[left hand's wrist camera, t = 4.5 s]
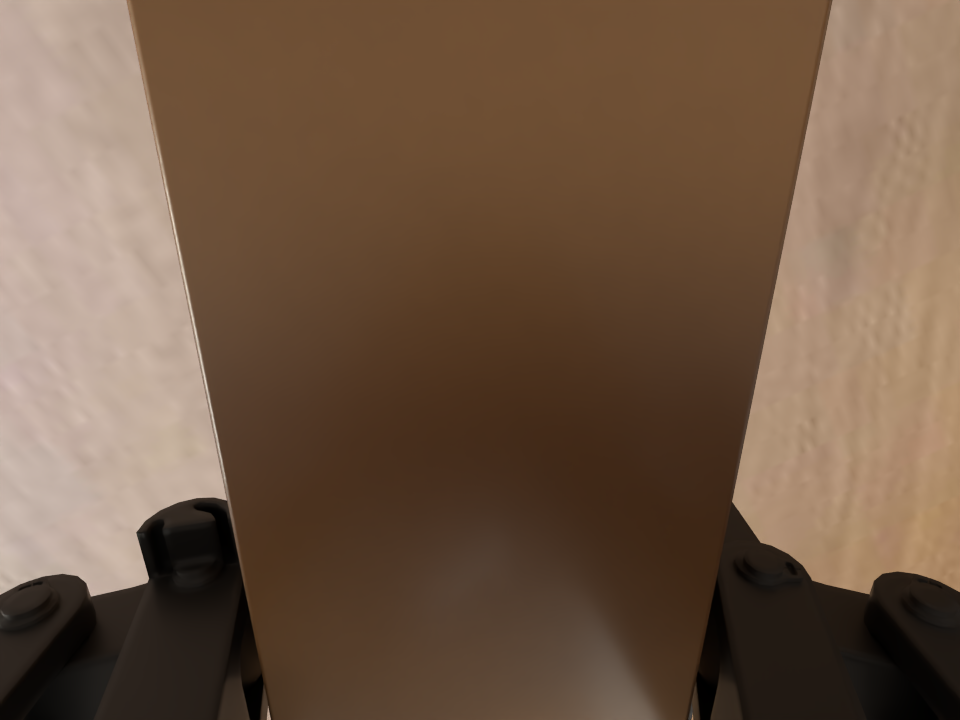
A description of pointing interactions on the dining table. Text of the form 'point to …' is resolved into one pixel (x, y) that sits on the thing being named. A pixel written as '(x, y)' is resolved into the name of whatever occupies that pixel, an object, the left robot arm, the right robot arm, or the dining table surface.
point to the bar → (479, 329)
